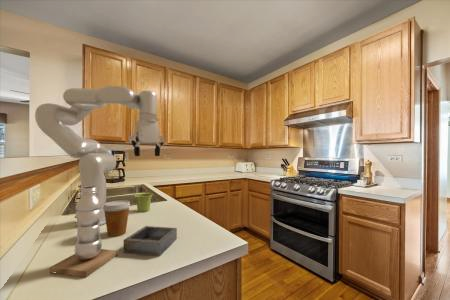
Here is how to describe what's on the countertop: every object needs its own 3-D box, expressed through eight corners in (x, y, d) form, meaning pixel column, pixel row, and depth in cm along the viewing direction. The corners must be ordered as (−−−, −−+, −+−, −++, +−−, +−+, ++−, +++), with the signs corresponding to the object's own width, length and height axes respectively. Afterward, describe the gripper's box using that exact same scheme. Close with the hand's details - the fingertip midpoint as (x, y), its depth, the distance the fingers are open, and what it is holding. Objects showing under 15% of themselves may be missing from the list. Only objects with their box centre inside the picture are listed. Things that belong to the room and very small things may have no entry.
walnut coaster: (49, 273, 52) (49, 267, 52) (86, 252, 62) (86, 247, 62) (86, 277, 50) (86, 271, 50) (117, 255, 61) (117, 250, 61)
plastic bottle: (77, 266, 52) (78, 190, 52) (71, 257, 57) (73, 187, 57) (105, 256, 57) (105, 187, 57) (97, 249, 61) (98, 184, 62)
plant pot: (130, 212, 105) (130, 196, 106) (140, 208, 115) (141, 193, 115) (146, 213, 104) (146, 197, 104) (155, 208, 113) (155, 193, 113)
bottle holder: (123, 252, 62) (123, 239, 62) (145, 236, 74) (145, 226, 74) (160, 256, 60) (160, 242, 60) (176, 239, 72) (176, 227, 72)
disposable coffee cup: (135, 230, 80) (135, 201, 81) (115, 240, 71) (116, 206, 72) (117, 227, 83) (118, 199, 84) (96, 236, 74) (96, 204, 75)
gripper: (160, 122, 100) (159, 156, 99) (124, 117, 86) (124, 156, 86) (168, 120, 95) (168, 156, 94) (132, 114, 81) (132, 156, 81)
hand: (147, 156), depth 90 cm, fingers open, 9 cm apart
